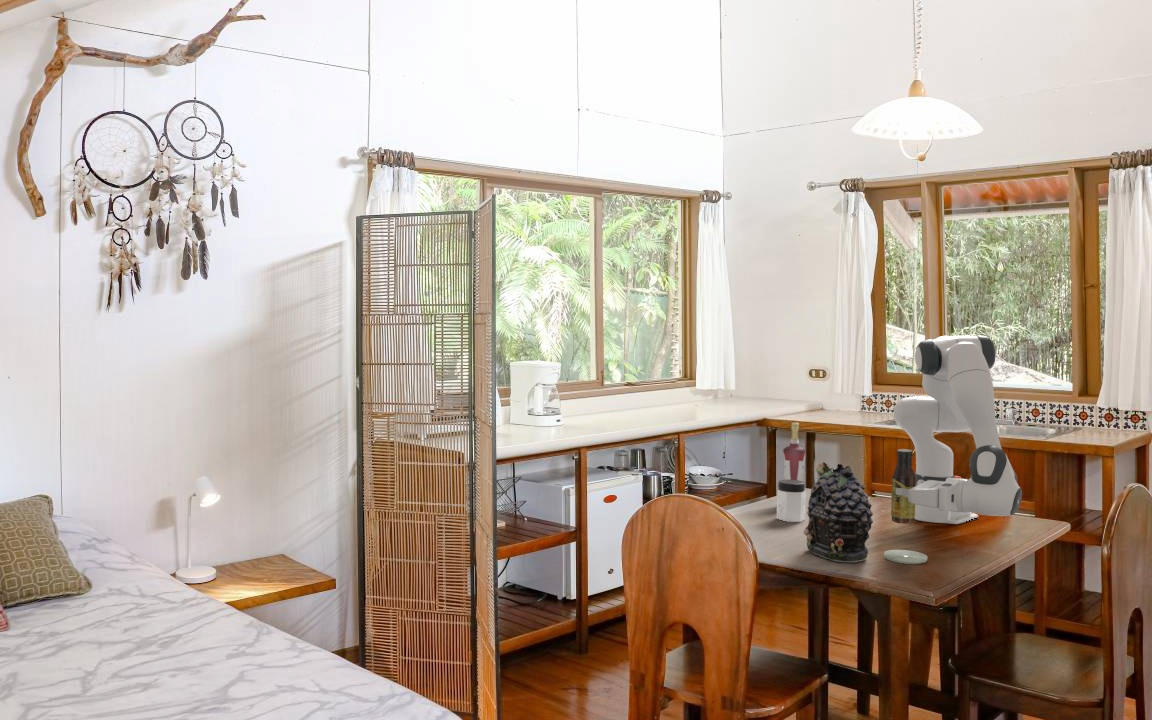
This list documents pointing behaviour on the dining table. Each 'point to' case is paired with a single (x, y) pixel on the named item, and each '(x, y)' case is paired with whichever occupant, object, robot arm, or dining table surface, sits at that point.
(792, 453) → the liquor
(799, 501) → the jar
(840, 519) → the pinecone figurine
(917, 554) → the round plate
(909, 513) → the sauce bottle
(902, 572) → the dining table surface
